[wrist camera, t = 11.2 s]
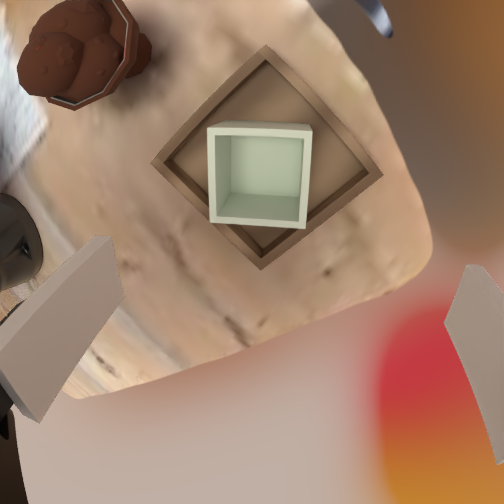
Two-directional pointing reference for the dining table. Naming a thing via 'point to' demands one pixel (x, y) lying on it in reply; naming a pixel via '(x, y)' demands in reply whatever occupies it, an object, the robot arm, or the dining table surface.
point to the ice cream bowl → (82, 52)
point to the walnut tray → (280, 110)
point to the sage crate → (259, 173)
